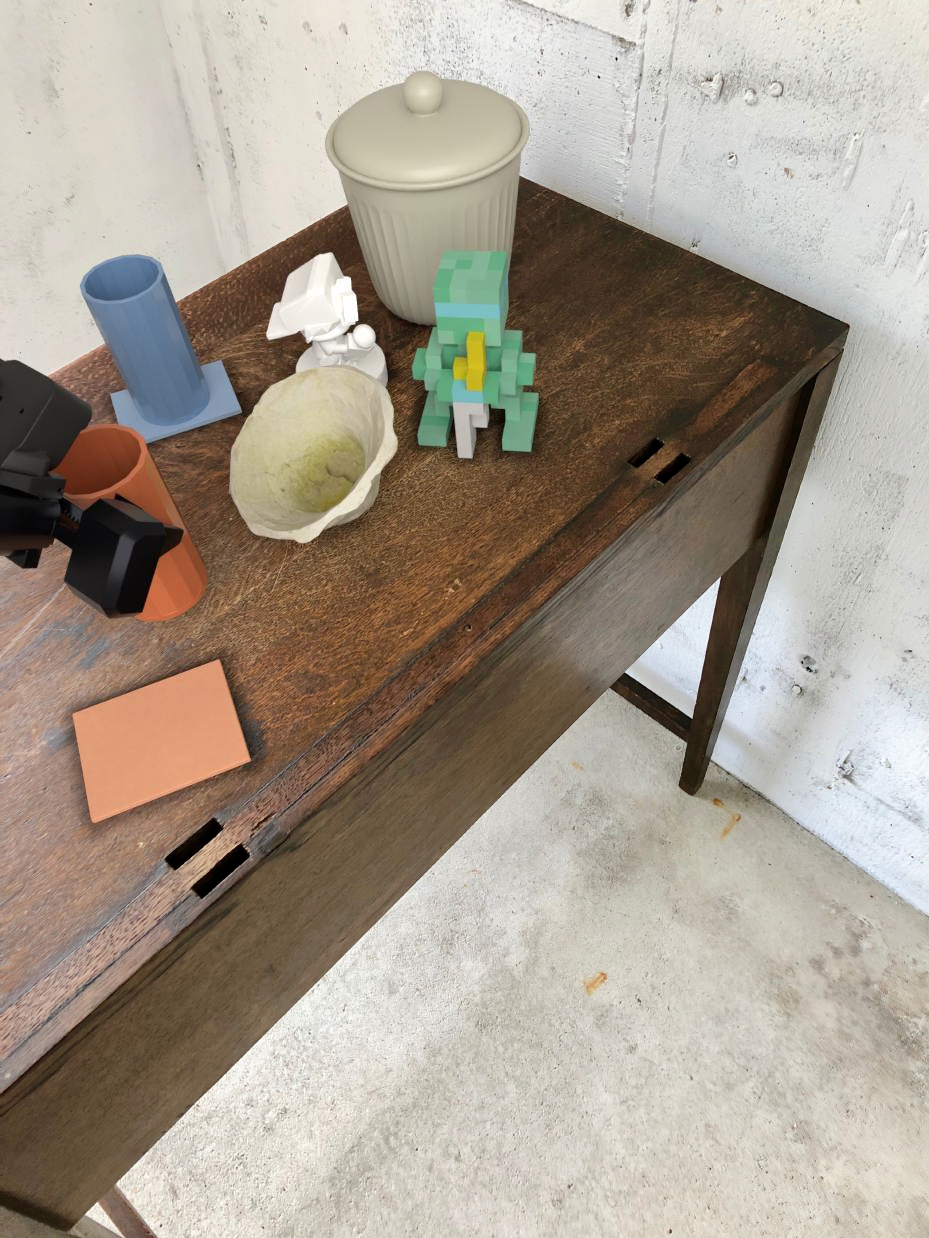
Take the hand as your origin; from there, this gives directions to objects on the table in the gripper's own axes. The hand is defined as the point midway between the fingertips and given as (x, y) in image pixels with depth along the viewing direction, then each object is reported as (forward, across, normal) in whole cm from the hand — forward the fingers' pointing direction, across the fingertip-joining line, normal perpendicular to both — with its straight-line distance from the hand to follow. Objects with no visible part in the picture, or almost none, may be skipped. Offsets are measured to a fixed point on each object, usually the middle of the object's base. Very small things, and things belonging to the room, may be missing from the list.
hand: (146, 514), depth 62 cm
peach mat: (0, -8, +14) cm, 16 cm away
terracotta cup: (+4, 0, +6) cm, 7 cm away
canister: (+37, +6, -23) cm, 44 cm away
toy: (+27, -8, -14) cm, 32 cm away
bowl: (+16, -3, -2) cm, 17 cm away
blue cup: (+17, +18, -4) cm, 25 cm away
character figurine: (+25, +7, -12) cm, 29 cm away
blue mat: (+18, +18, -4) cm, 26 cm away
